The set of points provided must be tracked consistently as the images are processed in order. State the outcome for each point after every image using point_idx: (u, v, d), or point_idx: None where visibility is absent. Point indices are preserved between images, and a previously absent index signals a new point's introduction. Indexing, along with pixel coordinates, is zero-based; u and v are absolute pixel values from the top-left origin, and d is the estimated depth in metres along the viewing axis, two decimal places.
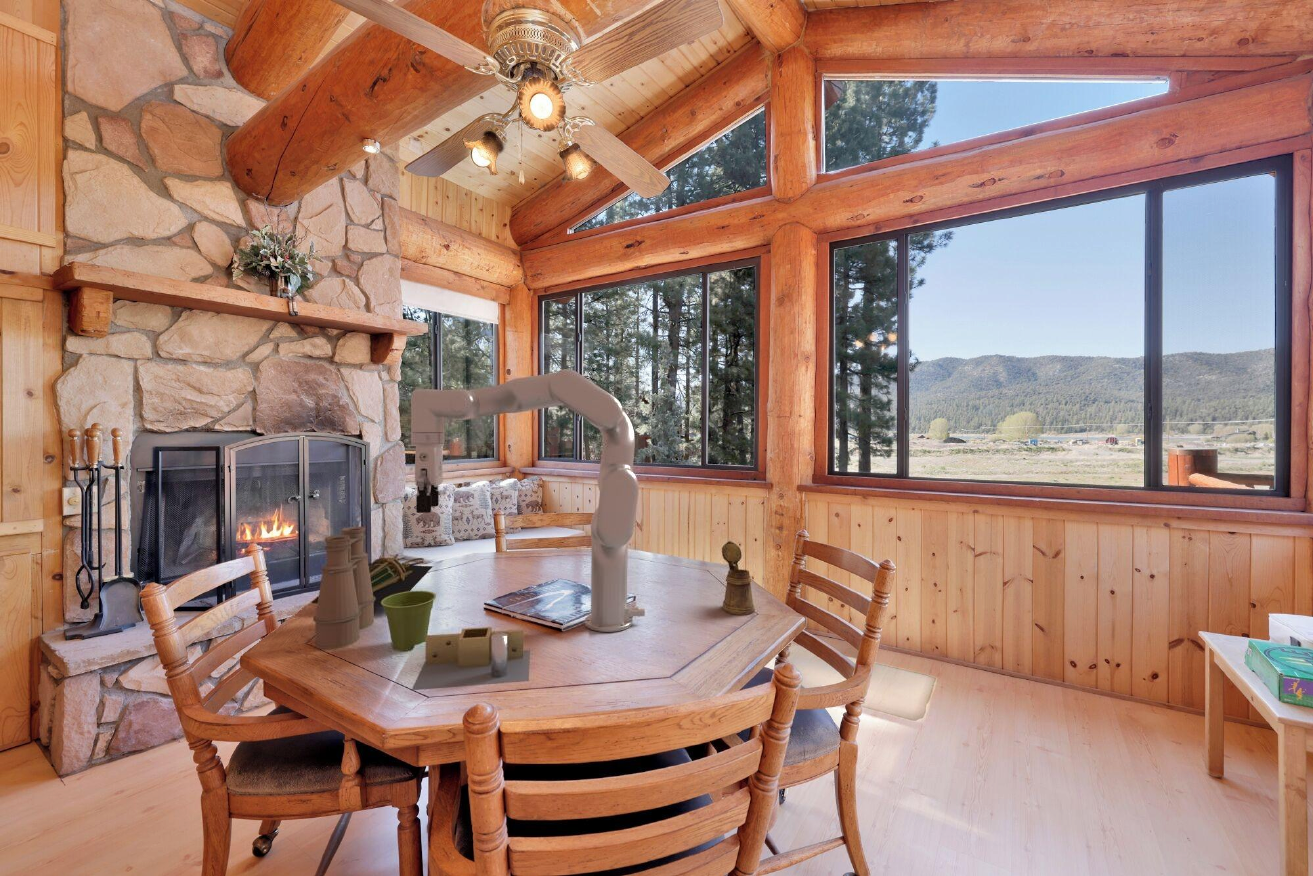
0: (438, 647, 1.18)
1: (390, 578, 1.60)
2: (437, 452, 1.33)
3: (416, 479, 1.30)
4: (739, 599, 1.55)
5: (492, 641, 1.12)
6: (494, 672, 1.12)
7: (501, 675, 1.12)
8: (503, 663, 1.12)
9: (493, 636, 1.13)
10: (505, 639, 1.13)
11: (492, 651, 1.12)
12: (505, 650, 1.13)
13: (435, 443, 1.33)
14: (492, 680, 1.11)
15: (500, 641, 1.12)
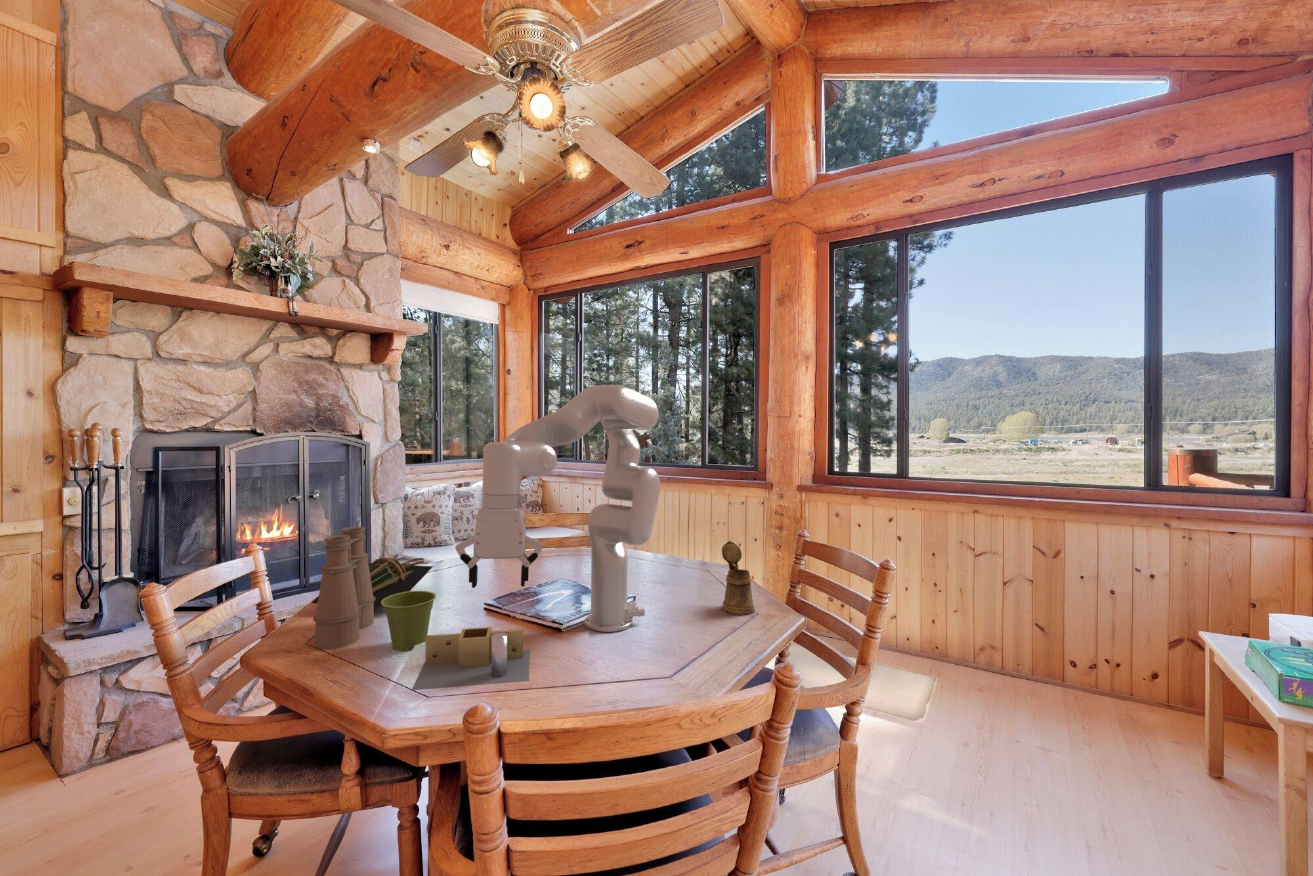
0: (438, 647, 1.18)
1: (390, 578, 1.60)
2: None
3: (524, 548, 1.13)
4: (739, 599, 1.55)
5: (492, 641, 1.12)
6: (494, 672, 1.12)
7: (501, 675, 1.12)
8: (503, 663, 1.12)
9: (493, 636, 1.13)
10: (505, 639, 1.13)
11: (492, 651, 1.12)
12: (505, 650, 1.13)
13: None
14: (492, 680, 1.11)
15: (500, 641, 1.12)
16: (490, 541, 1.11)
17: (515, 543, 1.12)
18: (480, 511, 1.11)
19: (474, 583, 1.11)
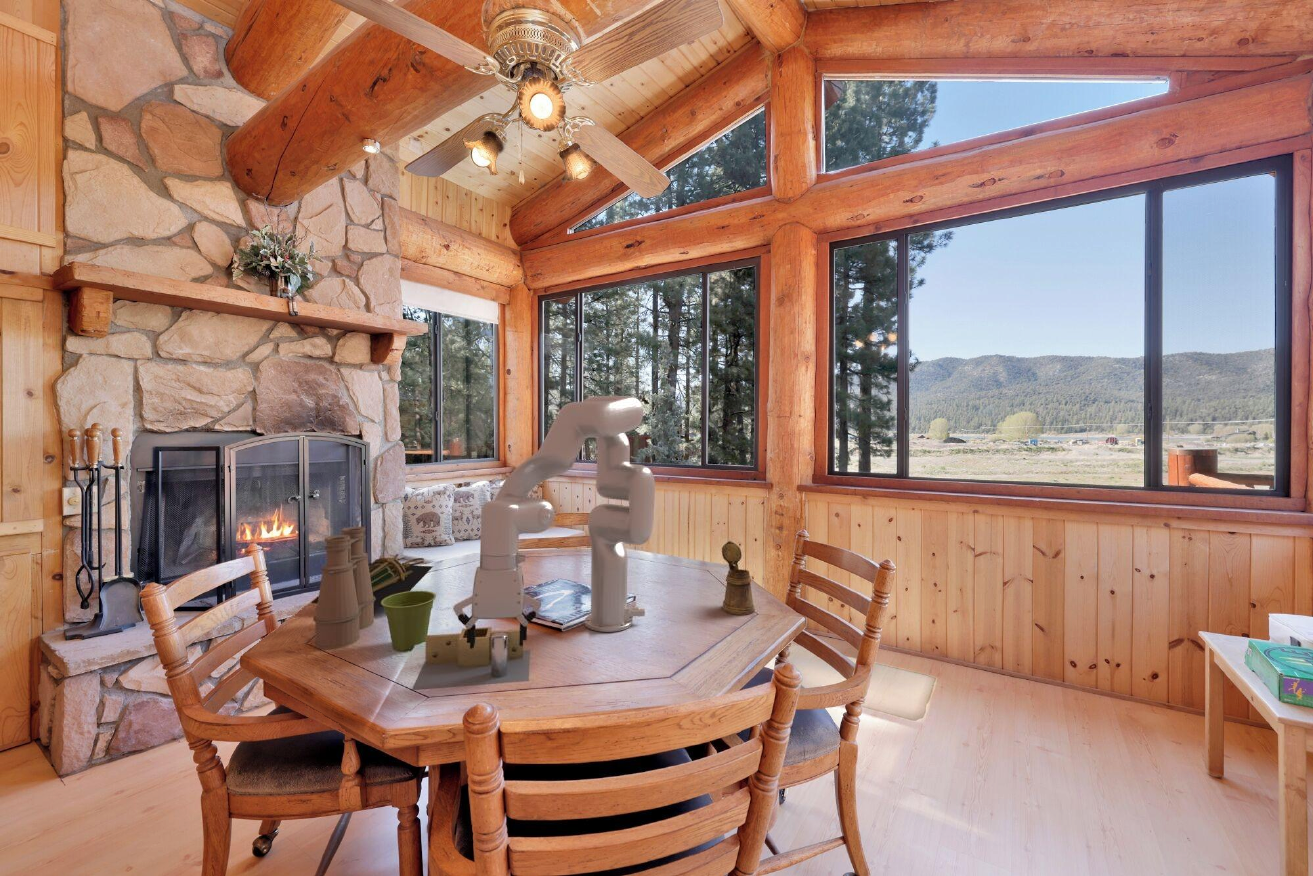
0: (438, 647, 1.18)
1: (390, 578, 1.60)
2: None
3: (522, 607, 1.12)
4: (739, 599, 1.55)
5: (492, 641, 1.12)
6: (494, 672, 1.12)
7: (501, 675, 1.12)
8: (503, 663, 1.12)
9: (493, 636, 1.13)
10: (505, 639, 1.13)
11: (492, 651, 1.12)
12: (505, 650, 1.13)
13: None
14: (492, 680, 1.11)
15: (500, 641, 1.12)
16: (488, 602, 1.10)
17: (513, 603, 1.11)
18: (478, 572, 1.10)
19: (472, 644, 1.11)
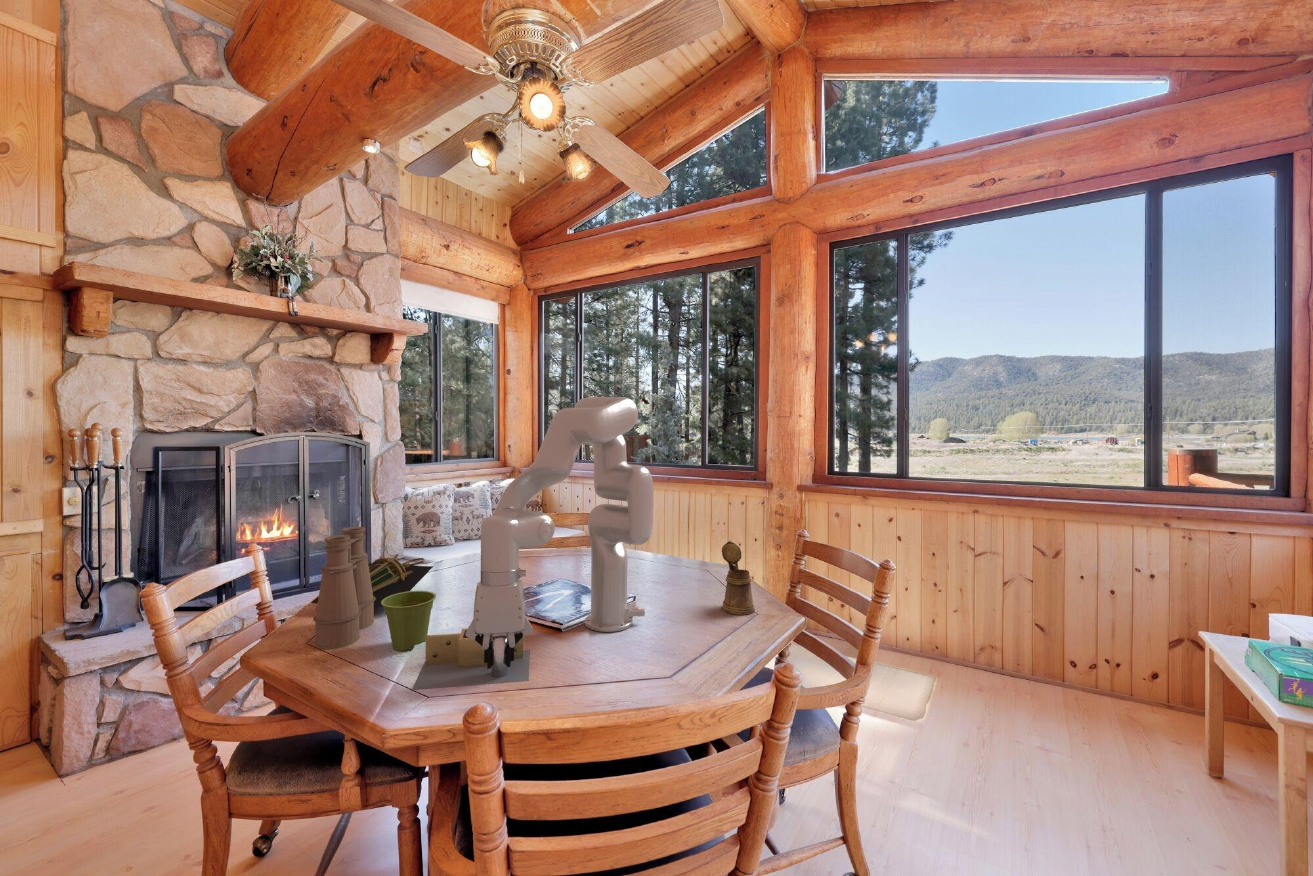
0: (438, 647, 1.18)
1: (390, 578, 1.60)
2: None
3: (523, 622, 1.13)
4: (739, 599, 1.55)
5: (492, 641, 1.12)
6: (494, 672, 1.12)
7: (501, 675, 1.12)
8: (503, 663, 1.12)
9: (493, 636, 1.13)
10: (505, 639, 1.13)
11: (492, 651, 1.12)
12: (505, 650, 1.13)
13: None
14: (492, 680, 1.11)
15: (500, 641, 1.12)
16: (490, 617, 1.11)
17: (515, 618, 1.12)
18: (479, 588, 1.11)
19: (489, 664, 1.12)
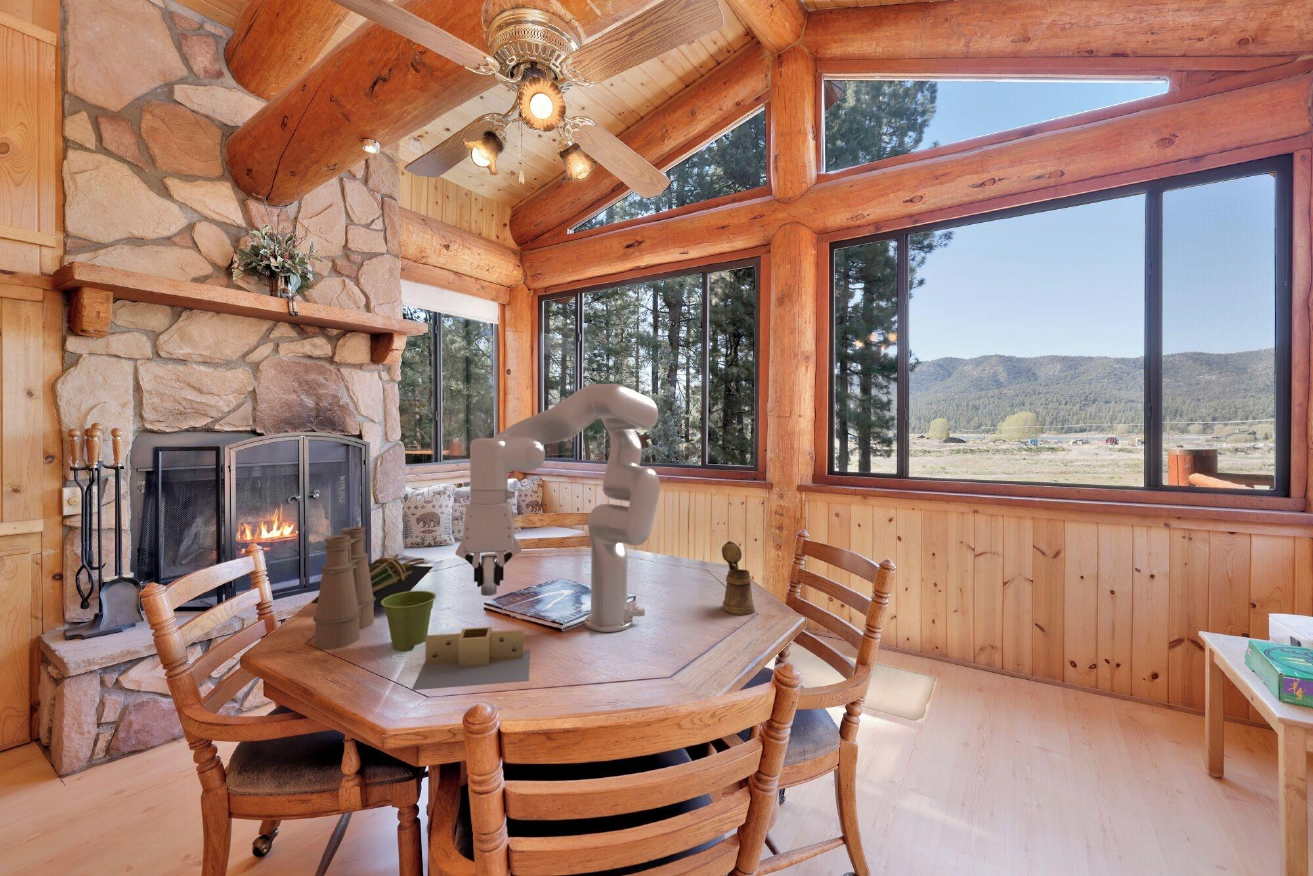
0: (438, 647, 1.18)
1: (390, 578, 1.60)
2: None
3: (513, 541, 1.15)
4: (739, 599, 1.55)
5: (482, 560, 1.15)
6: (484, 591, 1.14)
7: (491, 593, 1.15)
8: (493, 582, 1.15)
9: (483, 556, 1.15)
10: (495, 558, 1.15)
11: (482, 570, 1.15)
12: (495, 569, 1.15)
13: None
14: (492, 680, 1.11)
15: (490, 560, 1.14)
16: (479, 536, 1.13)
17: (504, 537, 1.14)
18: (468, 507, 1.13)
19: (479, 582, 1.14)
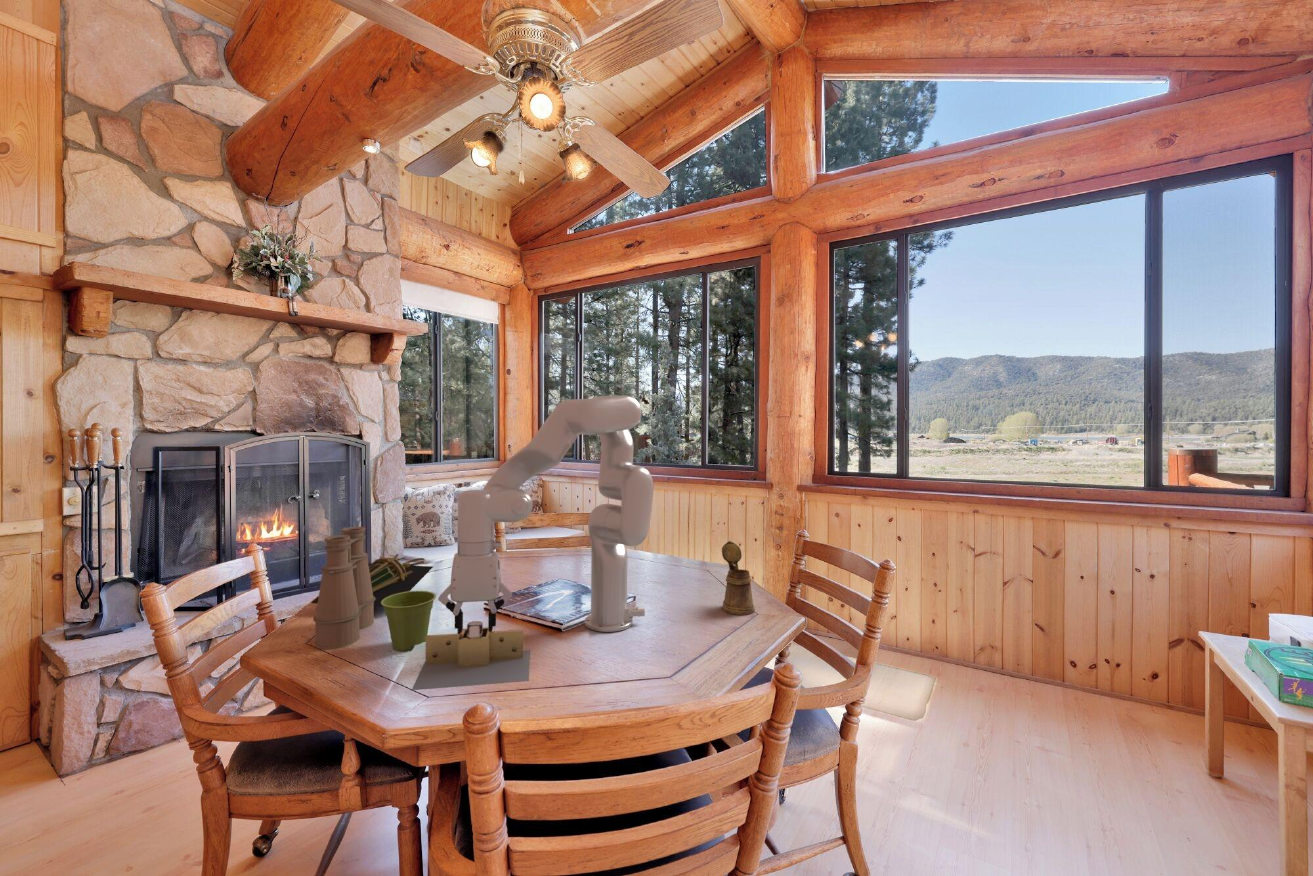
0: (438, 647, 1.18)
1: (390, 578, 1.60)
2: None
3: (498, 591, 1.19)
4: (739, 599, 1.55)
5: (468, 629, 1.18)
6: None
7: None
8: None
9: (469, 625, 1.19)
10: (481, 627, 1.19)
11: None
12: None
13: None
14: (492, 680, 1.11)
15: (476, 629, 1.18)
16: (466, 586, 1.17)
17: (490, 587, 1.18)
18: (455, 558, 1.17)
19: (460, 629, 1.18)
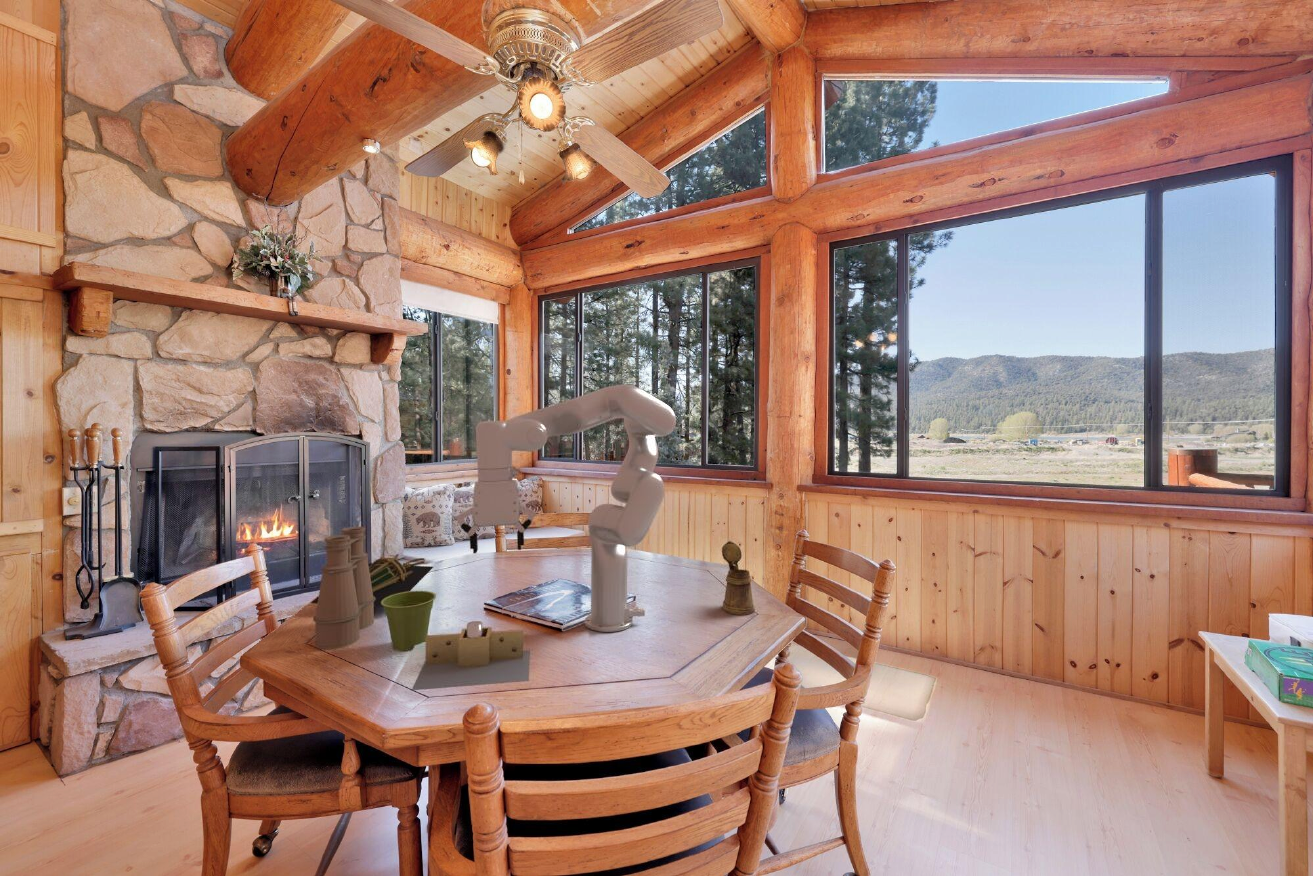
0: (438, 647, 1.18)
1: (390, 578, 1.60)
2: None
3: (518, 515, 1.25)
4: (739, 599, 1.55)
5: (468, 629, 1.18)
6: None
7: None
8: None
9: (469, 625, 1.19)
10: (481, 627, 1.19)
11: None
12: None
13: None
14: (492, 680, 1.11)
15: (477, 629, 1.18)
16: (487, 511, 1.22)
17: (510, 511, 1.24)
18: (476, 484, 1.22)
19: (475, 549, 1.23)
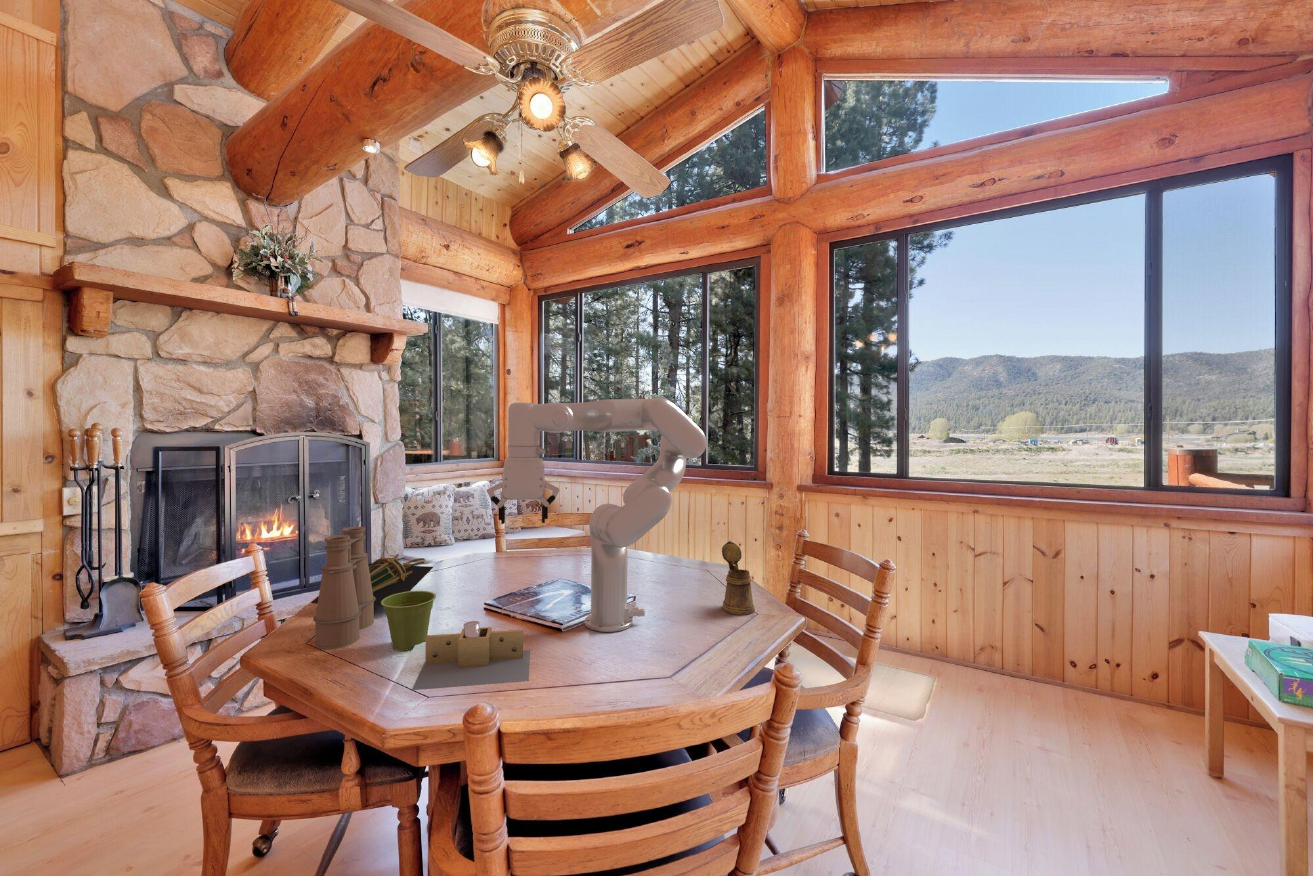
0: (438, 647, 1.18)
1: (390, 578, 1.60)
2: None
3: (544, 491, 1.35)
4: (739, 599, 1.55)
5: (466, 630, 1.18)
6: None
7: None
8: None
9: (466, 625, 1.19)
10: (478, 626, 1.19)
11: None
12: (479, 636, 1.19)
13: None
14: (492, 680, 1.11)
15: (474, 629, 1.18)
16: (516, 485, 1.33)
17: (536, 486, 1.34)
18: (507, 460, 1.33)
19: (503, 520, 1.33)
